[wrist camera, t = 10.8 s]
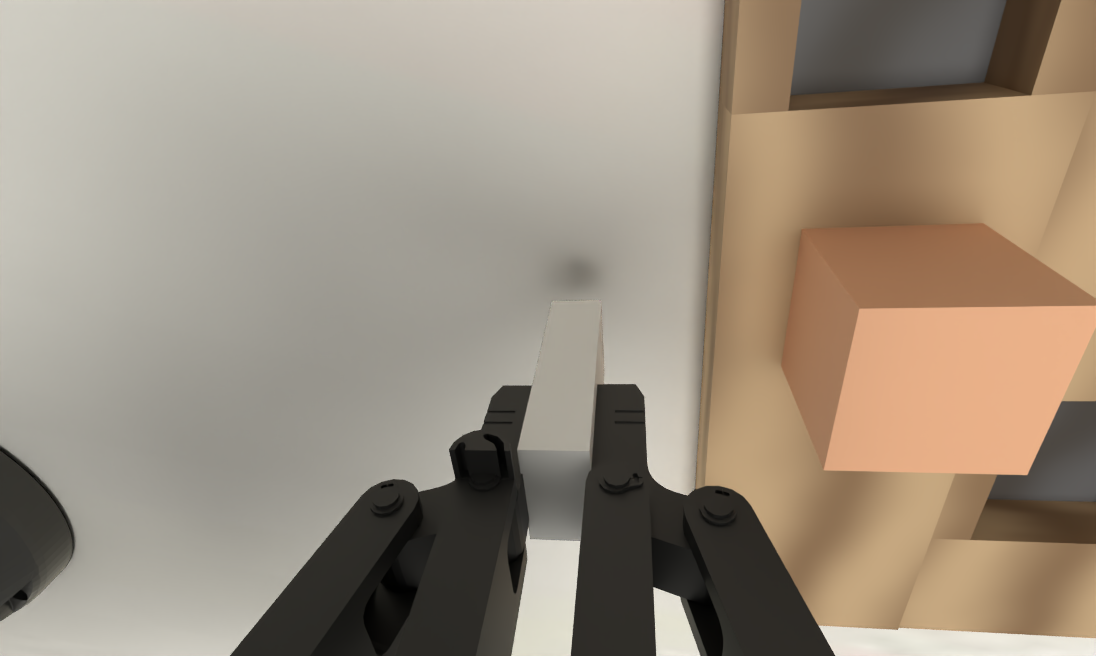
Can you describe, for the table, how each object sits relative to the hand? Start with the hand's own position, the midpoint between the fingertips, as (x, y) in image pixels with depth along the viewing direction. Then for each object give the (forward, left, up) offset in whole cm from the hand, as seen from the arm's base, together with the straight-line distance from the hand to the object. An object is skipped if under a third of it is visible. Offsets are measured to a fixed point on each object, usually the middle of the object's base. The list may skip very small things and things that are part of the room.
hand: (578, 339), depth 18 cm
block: (+9, 0, -2) cm, 9 cm away
